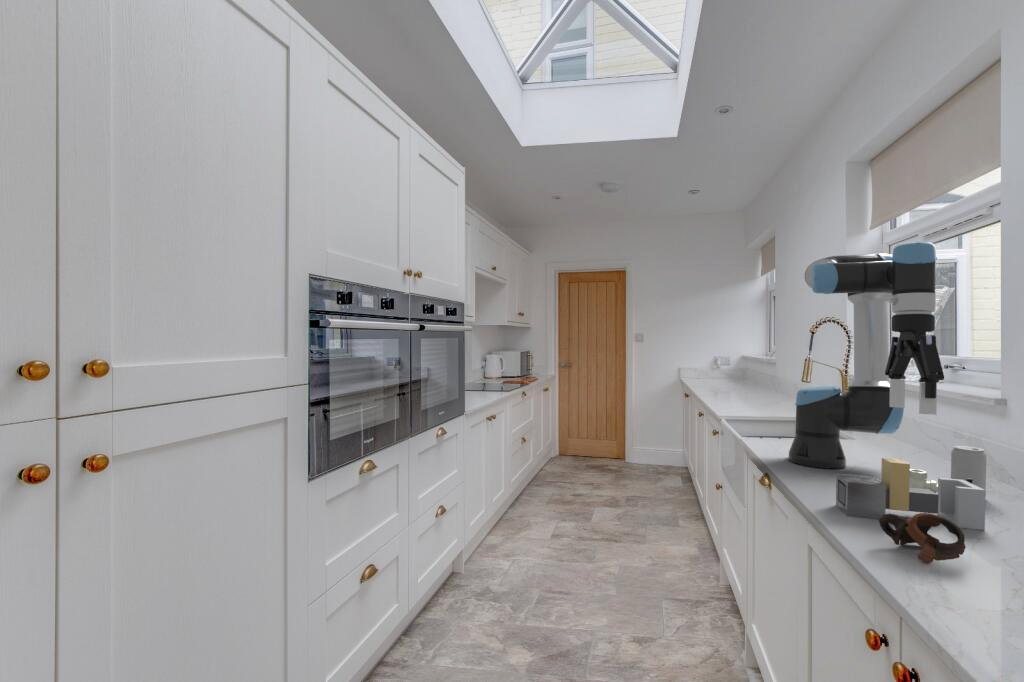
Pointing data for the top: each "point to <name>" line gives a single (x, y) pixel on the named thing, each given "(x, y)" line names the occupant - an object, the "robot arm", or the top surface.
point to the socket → (961, 503)
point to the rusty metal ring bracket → (924, 535)
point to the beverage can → (969, 465)
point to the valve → (924, 481)
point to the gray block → (862, 496)
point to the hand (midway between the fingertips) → (911, 410)
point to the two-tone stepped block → (901, 489)
